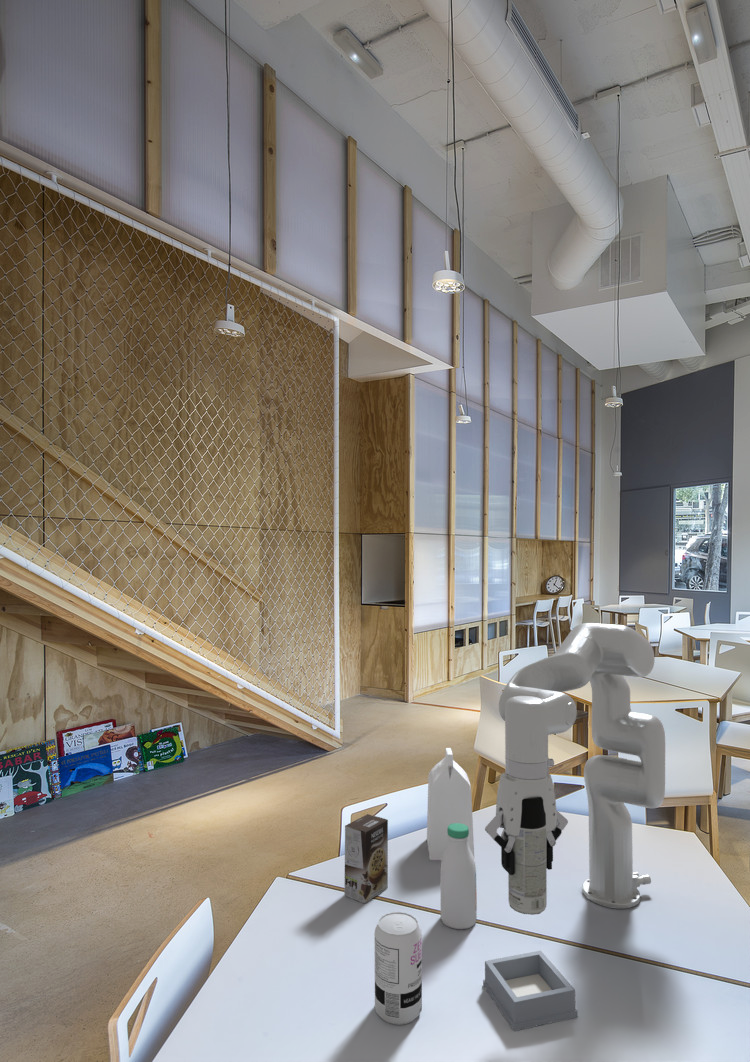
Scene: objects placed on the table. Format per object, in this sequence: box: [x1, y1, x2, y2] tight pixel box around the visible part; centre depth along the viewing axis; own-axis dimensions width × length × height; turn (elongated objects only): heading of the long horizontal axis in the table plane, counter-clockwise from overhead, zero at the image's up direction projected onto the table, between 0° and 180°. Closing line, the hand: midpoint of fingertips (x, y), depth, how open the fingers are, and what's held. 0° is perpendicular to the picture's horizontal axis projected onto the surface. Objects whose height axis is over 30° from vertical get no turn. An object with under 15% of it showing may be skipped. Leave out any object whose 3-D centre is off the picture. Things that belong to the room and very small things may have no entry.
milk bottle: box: [440, 823, 478, 930], centre depth 143 cm, size 8×8×20 cm
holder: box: [482, 950, 579, 1032], centre depth 118 cm, size 12×12×4 cm
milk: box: [426, 747, 475, 861], centre depth 177 cm, size 12×12×26 cm
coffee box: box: [343, 813, 389, 904], centre depth 155 cm, size 9×6×16 cm
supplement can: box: [374, 911, 423, 1026], centre depth 115 cm, size 8×8×15 cm
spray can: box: [507, 797, 548, 916], centre depth 118 cm, size 7×7×20 cm
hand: (527, 867), depth 118 cm, fingers closed on spray can, 6 cm apart
